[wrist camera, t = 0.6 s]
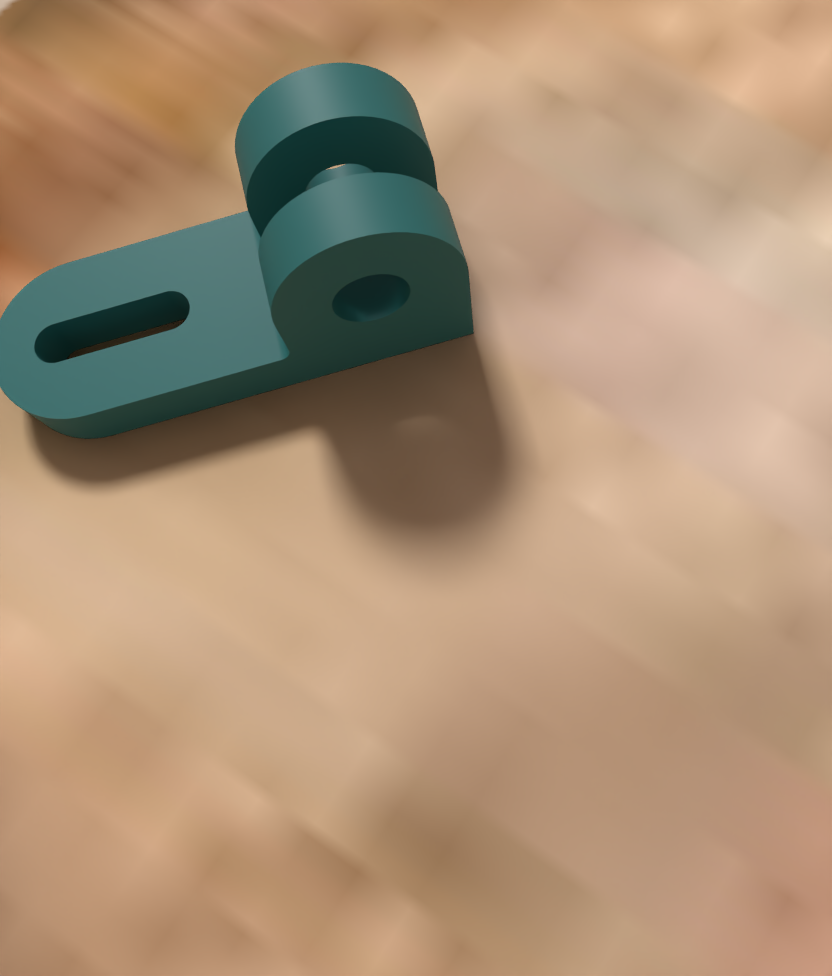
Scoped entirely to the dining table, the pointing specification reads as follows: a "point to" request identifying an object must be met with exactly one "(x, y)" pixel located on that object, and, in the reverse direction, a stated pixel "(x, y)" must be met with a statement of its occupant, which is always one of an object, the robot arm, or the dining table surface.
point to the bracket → (256, 271)
